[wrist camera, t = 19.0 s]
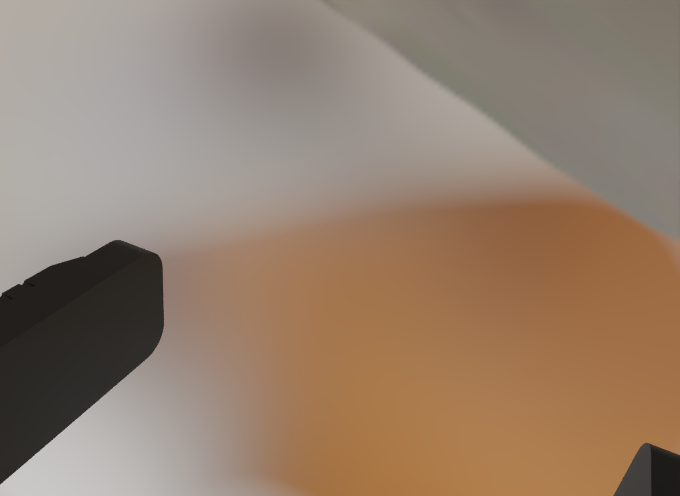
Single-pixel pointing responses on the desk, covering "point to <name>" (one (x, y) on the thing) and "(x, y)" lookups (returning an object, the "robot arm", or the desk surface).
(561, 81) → the desk surface
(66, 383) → the robot arm
